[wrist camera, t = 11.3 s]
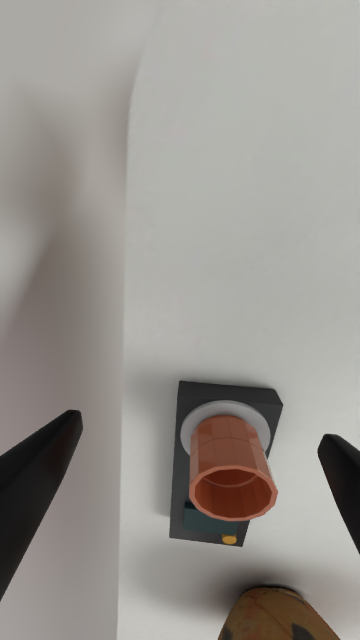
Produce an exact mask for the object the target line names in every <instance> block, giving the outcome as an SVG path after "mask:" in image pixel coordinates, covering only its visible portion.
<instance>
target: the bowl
mask: <svg viewBox="0 0 360 640" xmlns="http://www.w3.org/2000/svg"><path fill="white" fill-rule="evenodd" d="M218 640H340V638H339V637H338V636H337V635H336V633H335V632H334V631H333V630H332V629H331V628H330V627H329V625H328V624H327V623H326V622H325V621H324V620H323V619H322V617H321V616H320V615H319V614H318V613H317V612H316V611H315V610H314V609H313V608H312V606H311V605H310V604H309V603H307V602H306V601H305V600H304V599H303V598H302V597H301V596H299V595H298V594H296V593H294V592H292V591H289V590H286V589H283V588H273V587H272V588H267V587H259V588H254V589H251V590H248V591H246V592H245V593H243V594H242V595H241V597H240V598H239V599H238V601H237V602H236V603H235V605H234V606H233V608H232V609H231V611H230V613H229V615H228V617H227V619H226V621H225V623H224V625H223V628H222V630H221V632H220V635H219V637H218Z"/></svg>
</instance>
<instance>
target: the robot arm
mask: <svg viewBox="0 0 360 640" xmlns="http://www.w3.org/2000/svg"><path fill="white" fill-rule="evenodd" d="M82 430H83V424H82V416H81V412H80V411H78V410H67V411H66V412H64V413H63V414H61V415H60V416H59V417H57V418H56V419H54V420H53V421H51V422H50V423H48V424H47V425H45V426H44V427H42V428H41V429H39V430H38V431H36V432H35V433H33V434H32V435H31V436H29V437H28V438H26V439H25V440H23V441H22V442H20V443H19V444H17V445H16V446H14V447H13V448H12V449H10V450H9V451H7V452H6V453H4V454H3V455H1V456H0V601H1V599H2V597H3V595H4V593H5V591H6V589H7V587H8V585H9V583H10V581H11V579H12V577H13V576H14V574H15V572H16V570H17V568H18V566H19V564H20V562H21V560H22V558H23V556H24V554H25V552H26V550H27V548H28V546H29V544H30V543H31V540H32V539H33V537H34V535H35V532H36V531H37V529H38V527H39V525H40V523H41V521H42V519H43V517H44V515H45V513H46V511H47V509H48V507H49V506H50V504H51V501H52V500H53V498H54V496H55V494H56V492H57V490H58V488H59V486H60V484H61V482H62V480H63V478H64V475H65V473H66V471H67V468H68V466H69V463H70V461H71V458H72V456H73V454H74V451H75V449H76V446H77V444H78V441H79V439H80V436H81V434H82ZM318 457H319V460H320V462H321V465H322V468H323V470H324V473H325V476H326V478H327V481H328V484H329V486H330V489H331V492H332V494H333V497H334V499H335V502H336V504H337V507H338V509H339V511H340V514H341V516H342V518H343V520H344V522H345V524H346V527H347V529H348V531H349V533H350V535H351V537H352V539H353V541H354V544H355V546H356V548H357V550H358V552H359V554H360V451H359V450H358V449H356V448H355V447H354V446H352V445H351V444H350V443H348V442H347V441H346V440H344V439H343V438H342V437H340V436H339V435H335V434H325V435H324V436H323V438H322V440H321V442H320V445H319V447H318Z"/></svg>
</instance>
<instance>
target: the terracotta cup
mask: <svg viewBox="0 0 360 640" xmlns="http://www.w3.org/2000/svg"><path fill="white" fill-rule="evenodd" d="M277 494H278V491H277V487H276V484H275V481H274V478H273V475H272V472H271V469H270V466H269V463H268V460H267V457H266V454H265V451H264V448H263V445H262V442H261V439H260V437H259V435H258V433H257V431H256V429H255V428H254V427H252V426H251V425H250V424H248V423H247V422H246V421H244V420H243V419H241V418H238V417H236V416H231V415H217V416H213V417H210V418H207V419H205V420H204V421H202V422H201V423H200V424H199V425H198V426H197V428H196V429H195V431H194V432H193V433H192V435H191V443H190V481H189V498H190V500H191V501H192V502H193V504H194V505H195V507H196V508H197V509H198V510H200V511H201V512H203V513H205V514H206V515H208V516H210V517H212V518H216V519H221V520H225V521H247V520H250V519H253V518H256V517H259V516H262V515H264V514H265V513H266V512H267V511H268V510H270V509H271V508H272V507H273V506H274V505H275V502H276V498H277Z"/></svg>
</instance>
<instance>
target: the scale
mask: <svg viewBox="0 0 360 640" xmlns="http://www.w3.org/2000/svg"><path fill="white" fill-rule="evenodd" d="M282 408H283V403H282V402H281V400H280V398H279V396H278V394H277V392H276V391H275V390H273V389H262V388H251V387H239V386H228V385H216V384H205V383H194V382H182V381H179V387H178V396H177V413H176V430H175V447H174V464H173V482H172V499H171V516H170V533H169V538H176V539H183V540H191V541H199V542H207V543H215V544H223V545H231V546H239V547H242V546H243V543H244V539H245V536H246V532H247V529H248V525H249V522H250V520H247V521H225V520H221V519H216V518H212V517H210V516H208V515H206V514H205V513H203V512H201V511H200V510H198V509H197V508H196V507H195V505H194V504H193V502H192V501H191V500H190V498H189V481H190V443H191V435H192V433H193V432H194V431H195V429H196V428H197V426H198V425H199V424H200V423H201V422H202V421H204V420H205V419H207V418H210V417H213V416H217V415H231V416H236V417H238V418H241V419H243V420H244V421H246V422H247V423H248V424H250V425H251V426H252V427H254V428H255V429H256V431H257V433H258V435H259V437H260V439H261V442H262V445H263V448H264V451H265V454H266V457H267V460H268V456H269V453H270V449H271V446H272V443H273V439H274V436H275V432H276V429H277V425H278V422H279V418H280V415H281V412H282Z"/></svg>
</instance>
